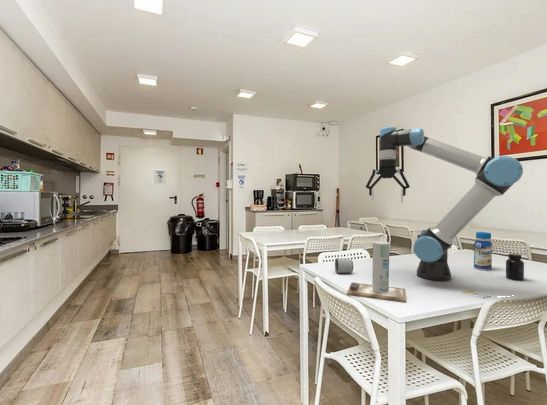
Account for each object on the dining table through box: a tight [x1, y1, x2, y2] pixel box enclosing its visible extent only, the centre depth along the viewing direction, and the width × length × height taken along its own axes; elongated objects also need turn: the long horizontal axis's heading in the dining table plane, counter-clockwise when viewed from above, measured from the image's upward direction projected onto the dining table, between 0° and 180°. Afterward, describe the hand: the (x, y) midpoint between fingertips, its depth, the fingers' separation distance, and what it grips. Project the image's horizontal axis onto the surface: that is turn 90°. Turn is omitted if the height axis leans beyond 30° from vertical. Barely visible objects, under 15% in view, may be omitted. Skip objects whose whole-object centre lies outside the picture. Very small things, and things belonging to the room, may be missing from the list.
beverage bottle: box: [473, 231, 494, 271], centre depth 162 cm, size 8×8×20 cm
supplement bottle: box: [505, 253, 525, 282], centre depth 143 cm, size 7×7×12 cm
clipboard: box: [346, 282, 407, 303], centre depth 122 cm, size 22×15×2 cm
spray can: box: [371, 240, 390, 293], centre depth 121 cm, size 6×6×20 cm
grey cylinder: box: [334, 257, 354, 274], centre depth 154 cm, size 11×8×8 cm
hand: (386, 202), depth 146 cm, fingers open, 13 cm apart
